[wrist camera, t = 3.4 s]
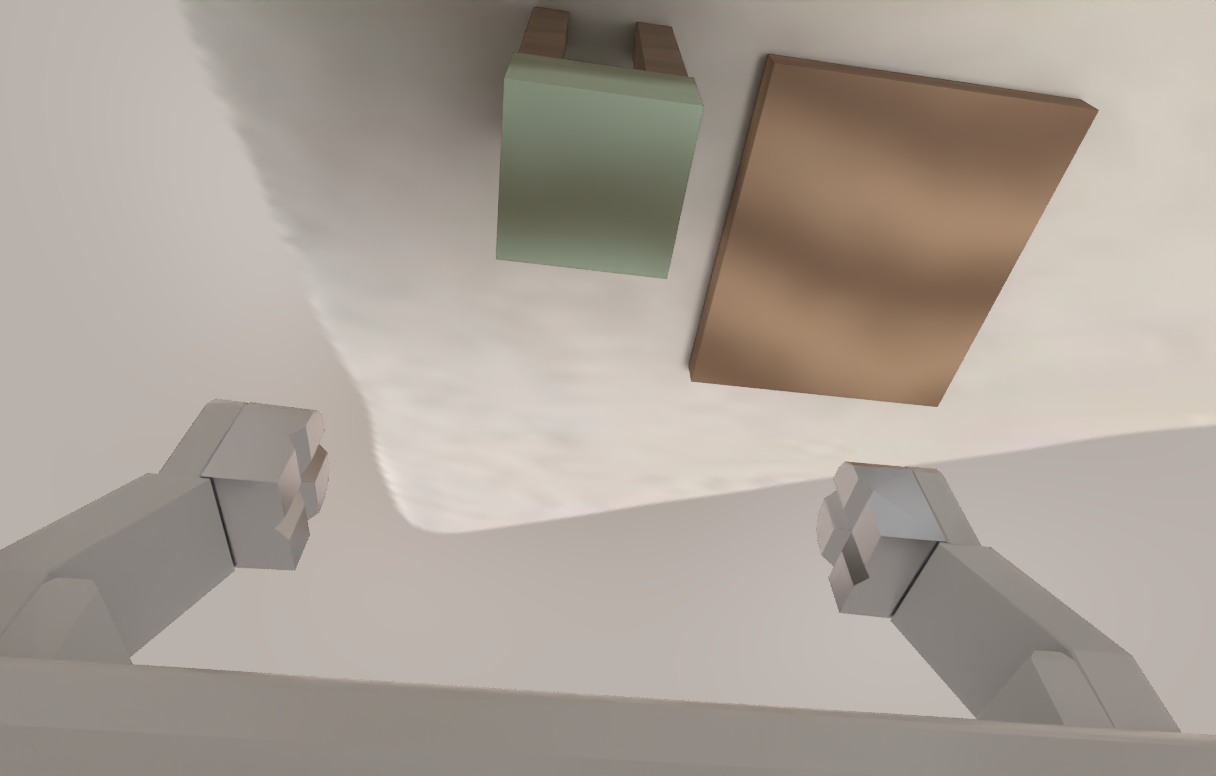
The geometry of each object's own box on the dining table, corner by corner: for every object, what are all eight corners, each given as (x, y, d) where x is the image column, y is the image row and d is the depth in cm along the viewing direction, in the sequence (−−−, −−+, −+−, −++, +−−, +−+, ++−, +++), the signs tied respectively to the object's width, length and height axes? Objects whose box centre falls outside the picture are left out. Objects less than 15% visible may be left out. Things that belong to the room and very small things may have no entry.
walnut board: (768, 53, 26) (774, 62, 25) (1081, 99, 27) (1098, 110, 26) (688, 365, 35) (691, 381, 34) (928, 391, 36) (937, 406, 35)
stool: (531, 3, 25) (504, 78, 18) (674, 24, 25) (703, 105, 18) (522, 146, 28) (495, 258, 21) (650, 163, 28) (666, 279, 21)
